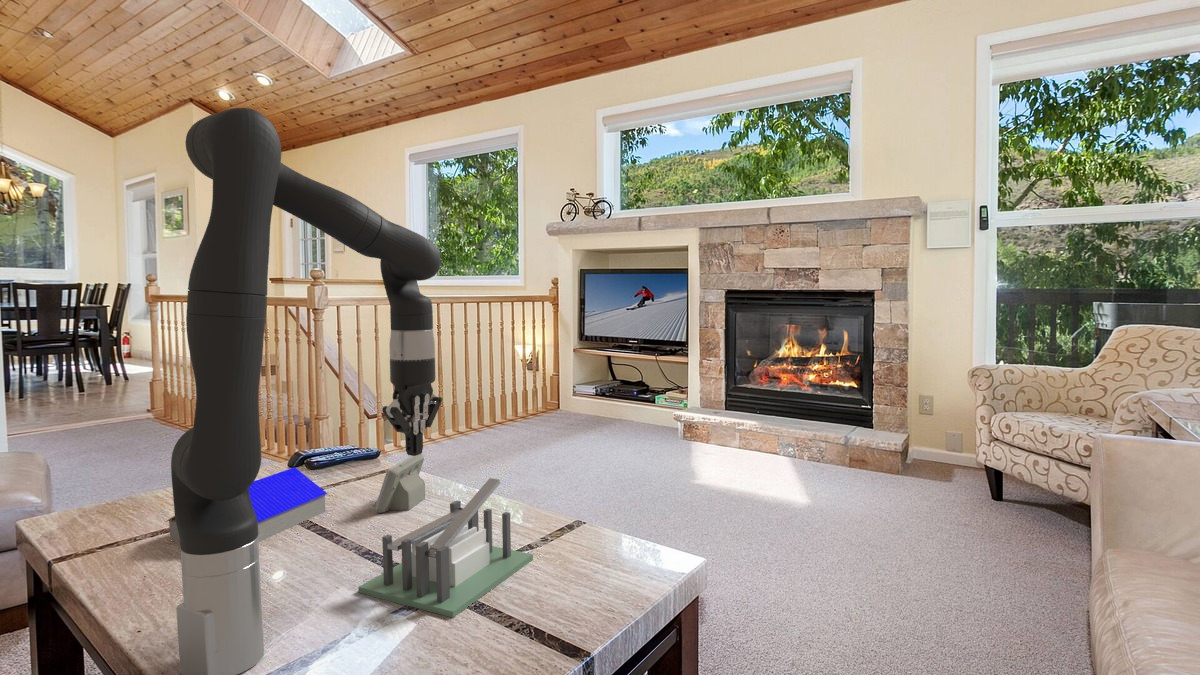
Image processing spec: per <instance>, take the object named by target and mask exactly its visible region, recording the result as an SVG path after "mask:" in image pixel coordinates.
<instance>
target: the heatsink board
mask: <svg viewBox="0 0 1200 675" xmlns="http://www.w3.org/2000/svg"><path fill="white" fill-rule="evenodd" d="M461 503H462V502H461V500H454V501H453V502H451V503H450V502H449V513H451V512H453V511H455V510H458V508H462V506H461V505H462V504H461ZM492 514H493V511H492V509H491V508H486V509H484V510H483V528H482V529H479V528H480V527H479V510H478V511H477V512H476V513H475V514H474V515H473V517H472V518H471V519H470V520H469V521H468V523H467V524H466V525H465V526H464V527H463V529H462V530H461V531H460V532H459V533H458V535H457V536H456V537H455V538H454V539H453V541H452V542H451V543H450V544H449V545H448V546H442V547H441V548H439V549H437V550H436V558H432V557H427V556H425V552H426V551H428V550H429V548H430V547H431V546H432V544H433V543H434V542H435V541H436V540H437V539H438V537H439V536H440V535H441V534H442V533H443V532H444V530H445V529H446V528H447V527H448V526H449V525H450V524H451V523H450V524H448V525H446V526H444V527H442V528H441V529H439V530H437V531H435V532H433V533H431V534H429V535H427V536H425V537H423V538H422V539H420V540H418V541H416V542H414V543H412V544H411V540H410V539H405V540H403V541H401V546H402V549H401V562H400V563H399V564H397V565H395V566H394V564H393V563H394V560H393V558H394V557H393V550H391V549H388V545H387V544H389V543H391V542H393V535H391V534H386V535H384V536H382V539H381V541H382V567H383V568H382V569H383V570H382V572H383V573H381V574H378V575H377V576H376V577H373V578H371V579H370V580H368V581H366V582H365V583H362V584H361V585H359V586H358V590H357V591H358V593H360V594H362V595H367V596H370V597H373V598H378V599H381V600H386V601H388V602H393V603H397V604H400V605H403V606H408V607H411V608H415V609H418V610H422V611H427V612H430V613H433V614H438V615H442V616H445V617H449V618H452V619H454V618H455V617H457V616H458V615H459V614H461V613H462V612H464V611H465V610H466V609H468V608H469V607H470V606H471V604H472V603H473V604H474V603H475V601H476V602H477V601H478V600H480V599H481V598H482V597H484V596H485V595H487V594H488V593H490V590H491V589H492V590H493V589H495V588H496V587H498V586H499V585H500V584H501V583H503V582H504V581H506V580H507V579H508V578H510V577H512V576H513V574H515V573H517V571H519V570H520V569H523V567H525V566H526V565H527V564H529V563H530V562H531V561H533V560H534V554H533V553H529V552H524V551H520V550H519V551H518V550H514V549H512V548H511V547H512V546H511V545H512V544H511V542H512V541H511V537H512V536H511V535H512V534H511V512H509V511H505V512H503V513H502V514H501V522H502V523H501V524H502V526H501V528H502V530H501V531H502V533H501V534H502V547H499V546H498V547H497V546H494V545H493V519H492V518H493V515H492ZM506 578H507V579H506ZM505 579H506V580H505ZM494 587H495V588H494ZM492 590H491V591H492ZM487 592H488V593H487ZM486 593H487V594H486ZM484 594H485V595H484ZM483 595H484V596H483ZM480 597H481V598H480ZM479 598H480V599H479ZM473 604H472V605H473ZM468 606H469V607H468ZM464 609H465V610H464ZM461 611H462V612H461ZM460 612H461V613H460ZM457 614H458V615H457ZM456 615H457V616H456Z"/></svg>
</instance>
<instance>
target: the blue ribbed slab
mask: <svg viewBox="0 0 1200 675" xmlns="http://www.w3.org/2000/svg"><path fill="white" fill-rule="evenodd" d="M249 494H250V499H251V503H252V506H253V509H254V511H255V513H256V516H257V520H258V541H259V543H260V542H263V541H264V540H266V539H269V538H271V537H273V536H275V535H277V534H280V533H282V532H284V531H286V530H289V529H292V527H295V526H297V524H298V525H300V524H302V523H304V522H306V521H309V520H311V519H313V518H315V517H318V516H320V515H323V514H324V513H326V495H328V492H326V491H325V490H324V489H323V488H321V487H320V486H319V485H317V483H315V482H314V481H313V480H312V479H310V478H309V477H308V476H307V475H305V474H304V473H303V472H301V471H300V470H299V469H298V468H296V467H291V468H289V469H285V470H283V471H280V472H279V471H278V472H276V473H274V474H272V475H268V476H266V477H263V478H259V479H257V480H256V479H255V480H254V482H253V483H252V485H251V486H250V487H249ZM317 515H318V516H317ZM310 518H311V519H310ZM308 519H309V520H308ZM303 521H304V522H303ZM166 522H168V525H169V541H170V540H172V541H171V542H173V541H177V542H176V543H178V542H180V538H179V532H178V529H177V525H176V520H175V515H173V516H171V517H170V518H168V519H166V520H165V523H166ZM301 522H302V523H301ZM299 523H300V524H299Z"/></svg>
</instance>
